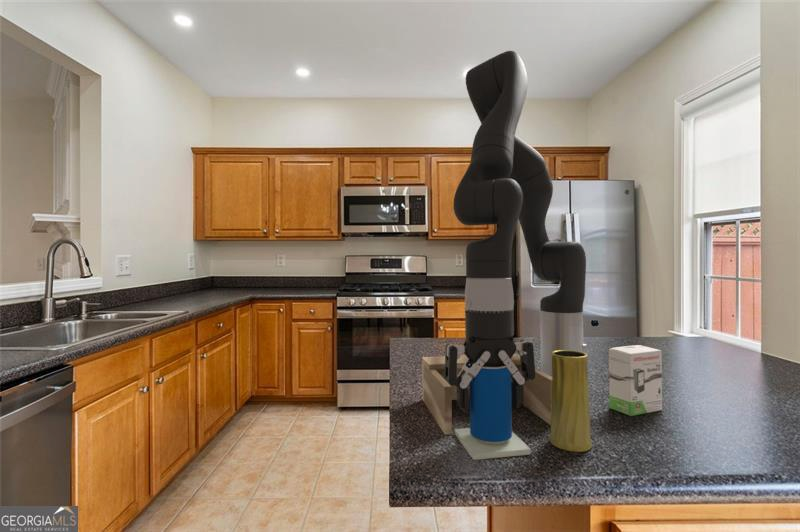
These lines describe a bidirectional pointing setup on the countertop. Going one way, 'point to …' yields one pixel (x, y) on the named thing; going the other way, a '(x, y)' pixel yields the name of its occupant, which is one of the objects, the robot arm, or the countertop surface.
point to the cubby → (442, 393)
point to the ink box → (635, 379)
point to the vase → (570, 401)
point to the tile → (491, 446)
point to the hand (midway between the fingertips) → (490, 408)
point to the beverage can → (491, 405)
